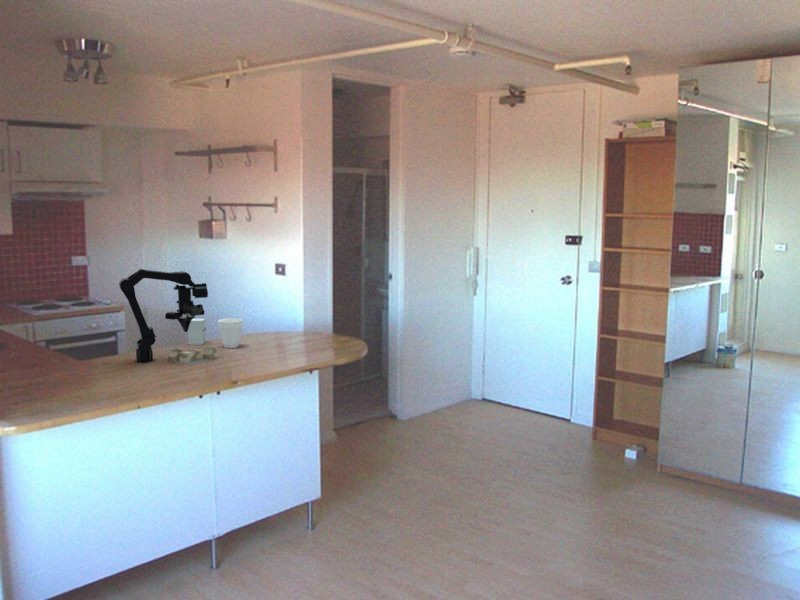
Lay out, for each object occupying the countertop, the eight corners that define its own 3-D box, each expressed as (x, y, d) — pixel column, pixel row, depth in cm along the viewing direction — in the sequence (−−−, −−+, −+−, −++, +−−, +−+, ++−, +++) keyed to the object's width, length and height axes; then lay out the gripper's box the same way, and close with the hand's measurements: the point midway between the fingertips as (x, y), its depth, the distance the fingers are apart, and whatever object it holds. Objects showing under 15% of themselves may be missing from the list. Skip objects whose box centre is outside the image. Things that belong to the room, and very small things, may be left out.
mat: (189, 365, 327) (189, 364, 327) (169, 361, 335) (169, 360, 335) (218, 358, 341) (218, 357, 341) (197, 354, 349) (197, 354, 349)
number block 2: (210, 359, 338) (209, 349, 337) (203, 358, 340) (203, 348, 339) (217, 357, 341) (217, 347, 341) (210, 356, 344) (210, 346, 343)
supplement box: (202, 345, 372) (202, 320, 370) (188, 345, 372) (187, 320, 370) (206, 342, 379) (206, 318, 378) (192, 342, 380) (191, 318, 378)
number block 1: (175, 361, 333) (175, 351, 332) (169, 360, 335) (168, 350, 335) (183, 359, 337) (183, 349, 336) (176, 358, 339) (176, 348, 338)
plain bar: (186, 362, 332) (185, 353, 331) (179, 361, 334) (179, 352, 333) (206, 357, 342) (206, 349, 341) (199, 356, 344) (199, 348, 343)
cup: (216, 345, 371) (215, 319, 369) (240, 343, 376) (239, 317, 374) (221, 350, 360) (220, 322, 358) (246, 348, 365) (245, 321, 363)
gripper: (180, 302, 326) (181, 336, 328) (212, 297, 342) (213, 330, 344) (163, 300, 332) (165, 334, 334) (195, 296, 348) (196, 328, 350)
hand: (185, 331), depth 341 cm, fingers closed
